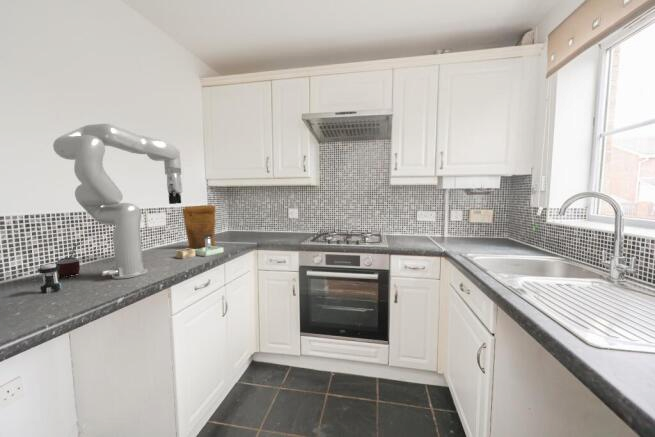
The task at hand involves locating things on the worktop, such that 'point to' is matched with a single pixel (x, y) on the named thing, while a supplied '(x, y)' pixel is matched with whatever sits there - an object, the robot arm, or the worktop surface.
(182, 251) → the socket block
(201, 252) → the tray
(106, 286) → the worktop surface
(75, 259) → the manual coffee grinder
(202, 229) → the pancake mix bag
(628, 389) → the worktop surface
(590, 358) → the worktop surface
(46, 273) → the black toy figure
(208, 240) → the steel pin
